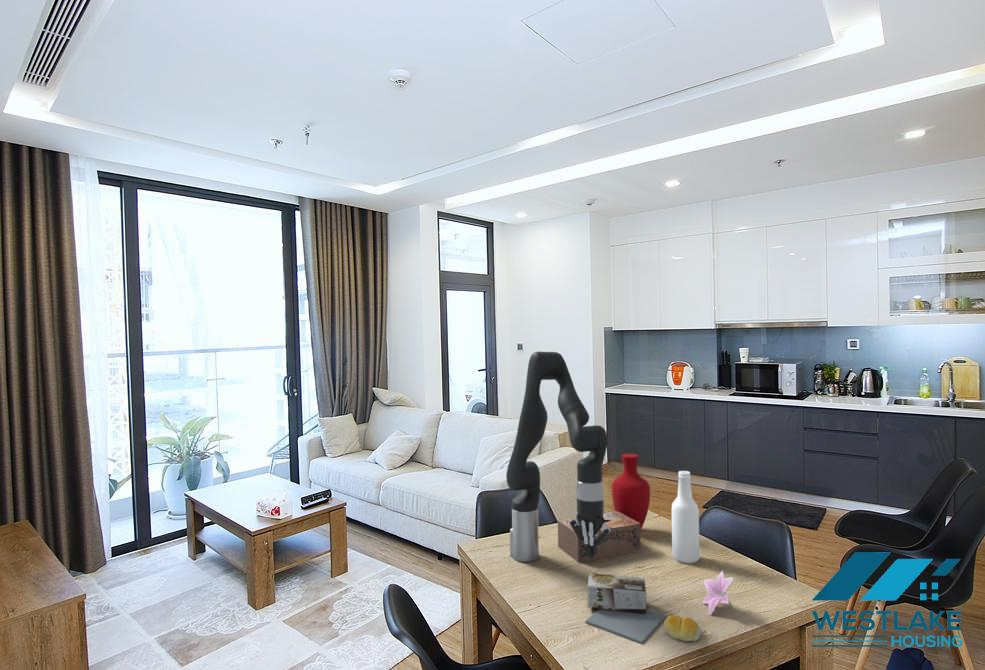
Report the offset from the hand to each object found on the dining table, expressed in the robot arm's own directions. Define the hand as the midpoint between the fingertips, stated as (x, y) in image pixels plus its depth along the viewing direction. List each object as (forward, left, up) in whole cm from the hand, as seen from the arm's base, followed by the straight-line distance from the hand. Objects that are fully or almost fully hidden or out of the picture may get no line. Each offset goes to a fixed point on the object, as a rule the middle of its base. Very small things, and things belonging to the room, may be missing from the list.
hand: (591, 556), depth 151 cm
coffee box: (-2, +2, -11) cm, 11 cm away
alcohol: (+9, +49, -15) cm, 52 cm away
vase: (-17, +62, -15) cm, 66 cm away
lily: (+28, +22, -15) cm, 39 cm away
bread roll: (+25, +3, -15) cm, 29 cm away
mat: (+10, 0, -15) cm, 18 cm away
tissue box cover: (-19, +39, -15) cm, 46 cm away
